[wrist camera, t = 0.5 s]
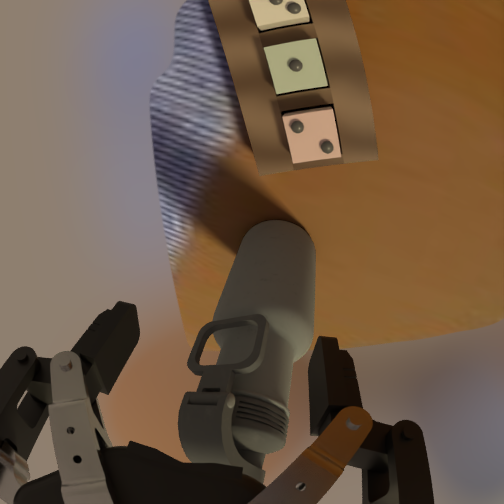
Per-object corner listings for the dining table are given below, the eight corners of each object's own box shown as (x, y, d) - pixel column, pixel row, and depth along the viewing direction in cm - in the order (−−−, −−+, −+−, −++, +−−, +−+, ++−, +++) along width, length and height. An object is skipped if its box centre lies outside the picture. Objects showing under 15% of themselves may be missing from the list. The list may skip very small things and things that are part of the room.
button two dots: (284, 113, 24) (281, 117, 22) (330, 106, 23) (333, 109, 21) (294, 156, 27) (292, 164, 25) (338, 149, 26) (341, 157, 23)
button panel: (218, 1, 21) (206, -7, 18) (330, -21, 17) (333, -33, 14) (265, 163, 31) (259, 175, 28) (370, 149, 28) (378, 160, 25)
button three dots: (249, -7, 18) (243, -15, 15) (296, -17, 16) (295, -26, 14) (261, 30, 20) (256, 26, 18) (309, 21, 19) (309, 15, 16)
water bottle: (228, 227, 37) (131, 441, 15) (299, 204, 33) (263, 464, 11) (259, 284, 42) (208, 480, 20) (324, 269, 38) (313, 489, 16)
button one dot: (267, 50, 21) (263, 47, 19) (315, 41, 20) (315, 37, 18) (279, 92, 23) (276, 94, 21) (326, 85, 22) (328, 86, 20)
